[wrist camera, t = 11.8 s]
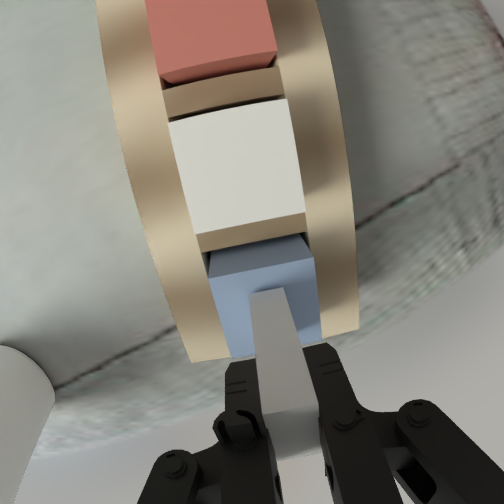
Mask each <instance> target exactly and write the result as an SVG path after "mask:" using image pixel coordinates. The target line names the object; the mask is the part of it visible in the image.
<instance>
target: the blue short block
mask: <svg viewBox="0 0 504 504" xmlns="http://www.w3.org/2000/svg"><path fill="white" fill-rule="evenodd" d="M208 280H209V284H210V287H211V291H212V294H213V298H214V301H215V305H216V308H217V312H218V315H219V318H220V322H221V325H222V328H223V332H224V335H225V338H226V342H227V345H228V348H229V351H230V354H231V358H238V357H243V356H249V355H254V354H255V347H254V339H253V330H252V321H251V312H250V303H249V294H252V293H257V292H262V291H267V290H272V289H276V288H281V287H283V289H284V292H285V295H286V298H287V301H288V305H289V308H290V311H291V314H292V318H293V321H294V324H295V327H296V331H297V334H298V337H299V340H300V344H301V345H303V344H308V343H312V342H316V341H321V340H322V330H321V319H320V309H319V299H318V290H317V281H316V272H315V264H314V257H313V255H312V254H311V252H310V250H309V248H308V247H307V245H306V244H305V242H304V240H303V239H302V237H301V235H300V234H299V233H295V234H290V235H285V236H280V237H275V238H270V239H266V240H261V241H256V242H251V243H246V244H241V245H236V246H231V247H226V248H221V249H217V250H212V252H211V259H210V267H209V275H208Z"/></svg>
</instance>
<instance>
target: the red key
mask: <svg viewBox="0 0 504 504" xmlns="http://www.w3.org/2000/svg"><path fill="white" fill-rule="evenodd" d="M145 5H146V11H147V17H148V23H149V29H150V34H151V40H152V45H153V51H154V56H155V61H156V67H157V72H158V75H159V76H160V77H162V78H163V79H165V80H166V81H168V82H169V83H171V84H172V85H174V86H175V87H177V86H181V85H185V84H189V83H193V82H197V81H202V80H206V79H211V78H215V77H220V76H225V75H230V74H235V73H241V72H247V71H253V70H259V69H265V68H267V66H268V65H269V63H270V62H271V60H272V59H273V57H274V56H275V54H276V53H277V51H278V49H277V45H276V40H275V36H274V32H273V27H272V23H271V19H270V15H269V11H268V7H267V3H266V0H145Z"/></svg>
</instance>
